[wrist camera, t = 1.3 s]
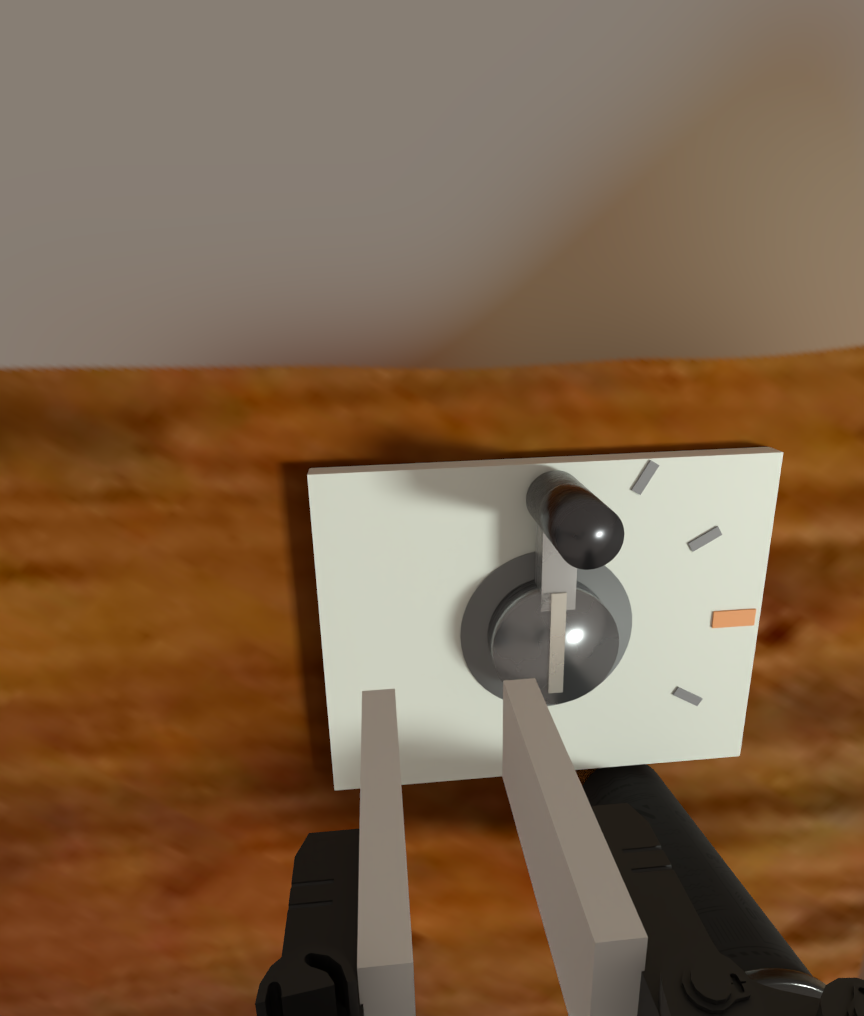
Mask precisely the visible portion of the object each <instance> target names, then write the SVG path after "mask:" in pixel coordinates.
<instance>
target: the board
mask: <svg viewBox="0 0 864 1016" xmlns="http://www.w3.org/2000/svg"><path fill="white" fill-rule="evenodd" d="M782 458H783V452H781V451H779V450H776V449H773V448H771V447H752V448H730V449H709V450H687V451H666V452H644V453H623V454H601V455H580V456H558V457H537V458H515V459H494V460H472V461H451V462H430V463H408V464H387V465H365V466H344V467H322V468H309V471H308V474H307V480H308V491H309V503H310V514H311V526H312V537H313V549H314V560H315V572H316V583H317V595H318V606H319V618H320V629H321V641H322V652H323V664H324V676H325V687H326V699H327V710H328V722H329V733H330V745H331V756H332V768H333V779H334V791H335V790H347V789H359V788H360V775H361V719H362V691H368V690H382V689H395V697H396V712H397V727H398V742H399V757H400V772H401V785H405V784H417V783H429V782H441V781H452V780H464V779H476V778H487V777H499V776H502V755H503V682H502V681H501V679H500V678H499V676H498V674H497V671H496V669H495V666H494V663H493V660H492V657H491V654H490V651H489V647H488V639H487V634H488V627H489V622H490V619H491V617H492V614H493V612H494V610H495V609H496V607H497V606H498V604H499V603H500V602H501V600H502V599H503V598H504V597H505V596H506V595H507V594H508V593H510V592H511V591H512V590H513V589H515V588H516V587H518V586H520V585H521V584H523V583H525V582H528V581H531V580H533V579H535V546H536V521H535V520H534V519H533V517H532V516H531V515H530V513H529V511H528V509H527V506H526V494H527V491H528V488H529V486H530V485H531V483H532V482H533V481H534V480H535V479H536V478H537V477H538V476H539V475H541V474H543V473H545V472H548V471H553V470H560V471H565V472H567V473H569V474H571V475H572V476H574V477H575V478H576V479H577V480H578V481H579V482H580V483H582V484H583V485H584V486H585V487H586V488H587V489H588V490H590V491H591V492H592V493H593V494H594V495H595V496H596V497H598V498H599V499H600V500H601V501H602V502H603V503H604V504H606V505H607V506H608V507H609V508H610V509H611V510H612V511H614V512H615V513H616V514H617V515H618V516H619V518H620V519H621V521H622V524H623V527H624V541H623V545H622V547H621V549H620V551H619V553H618V554H617V555H616V557H615V558H614V559H613V560H611V561H610V562H609V563H607V564H606V565H604V566H602V567H600V568H596V569H591V570H583V569H578V568H577V581H578V582H581V583H582V584H584V585H586V586H587V587H588V588H590V589H591V590H592V591H593V592H594V593H595V594H596V595H597V596H598V598H599V599H600V600H601V602H602V603H603V604H604V605H605V607H606V608H607V609H608V611H609V612H610V614H611V615H612V616H613V618H614V620H615V623H616V625H617V629H618V634H619V649H618V654H617V657H616V660H615V663H614V665H613V667H612V669H611V670H610V672H609V674H608V675H607V676H606V678H605V679H604V680H603V681H602V682H601V683H600V684H599V685H598V686H597V687H596V688H594V689H593V690H592V691H590V692H589V693H587V694H586V695H584V696H582V697H580V698H578V699H575V700H572V701H569V702H565V703H560V704H547V707H548V709H549V711H550V714H551V716H552V718H553V721H554V723H555V725H556V727H557V730H558V732H559V734H560V737H561V739H562V741H563V743H564V746H565V748H566V750H567V753H568V755H569V757H570V760H571V762H572V764H573V766H574V769H575V770H581V769H593V768H605V767H616V766H628V765H640V764H651V763H663V762H675V761H687V760H698V759H710V758H722V757H733V756H740V750H741V743H742V736H743V729H744V722H745V715H746V708H747V701H748V694H749V687H750V680H751V673H752V667H753V660H754V653H755V646H756V639H757V632H758V625H759V618H760V611H761V604H762V597H763V590H764V583H765V576H766V569H767V562H768V555H769V548H770V541H771V534H772V527H773V521H774V514H775V507H776V500H777V493H778V486H779V479H780V472H781V465H782Z"/></svg>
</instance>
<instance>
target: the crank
mask: <svg viewBox="0 0 864 1016" xmlns="http://www.w3.org/2000/svg"><path fill="white" fill-rule="evenodd" d="M526 506H527V509H528V511H529V513H530V515H531V516H532V517H533V519H534V520H535V521H536V546H535V579H533V580H531V581H528V582H525V583H523V584H521V585H520V586H518V587H516V588H515V589H513V590H512V591H511V592H510V593H508V594H507V595H506V596H505V597H504V598H503V599H502V600H501V602H500V603H499V604H498V606H497V607H496V609H495V610H494V612H493V614H492V617H491V619H490V622H489V627H488V634H487V639H488V647H489V651H490V654H491V657H492V660H493V663H494V666H495V669H496V671H497V674H498V676H499V678H500V679H501V681H502V682H503V681H504V680H517V679H531V678H535V679H536V682H537V684H538V686H539V688H540V691H541V693H542V695H543V698H544V700H545V702H546V704H560V703H565V702H569V701H572V700H575V699H578V698H580V697H582V696H584V695H586V694H587V693H589V692H590V691H592V690H593V689H594V688H596V687H597V686H598V685H599V684H600V683H601V682H602V681H603V680H604V679H605V678H606V676H607V675H608V674H609V672H610V670H611V669H612V667H613V665H614V663H615V660H616V657H617V654H618V649H619V634H618V629H617V625H616V623H615V620H614V618H613V616H612V615H611V614H610V612H609V611H608V609H607V608H606V607H605V605H604V604H603V603H602V602H601V600H600V599H599V598H598V596H597V595H596V594H595V593H594V592H593V591H592V590H591V589H590V588H588V587H587V586H586V585H584V584H582V583H581V582H578V581H577V568H578V569H583V570H591V569H596V568H600V567H602V566H604V565H606V564H607V563H609V562H610V561H611V560H613V559H614V558H615V557H616V555H617V554H618V553H619V551H620V549H621V547H622V545H623V541H624V527H623V524H622V521H621V519H620V518H619V516H618V515H617V514H616V513H615V512H614V511H612V510H611V509H610V508H609V507H608V506H607V505H606V504H604V503H603V502H602V501H601V500H600V499H599V498H598V497H596V496H595V495H594V494H593V493H592V492H591V491H590V490H588V489H587V488H586V487H585V486H584V485H583V484H582V483H580V482H579V481H578V480H577V479H576V478H575V477H574V476H572V475H571V474H569V473H567V472H565V471H560V470H553V471H548V472H545V473H543V474H541V475H539V476H538V477H537V478H536V479H535V480H534V481H533V482H532V483H531V485H530V486H529V488H528V491H527V494H526Z"/></svg>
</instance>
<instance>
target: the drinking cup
mask: <svg viewBox="0 0 864 1016" xmlns="http://www.w3.org/2000/svg"><path fill="white" fill-rule="evenodd" d="M583 789H584V792H585V794H586V796H587V799H588V801H589V803H590V805H591V806H598V805H609V804H620V803H628V804H629V805H630V806H632V807H633V808H634V809H635V810H636V811H637V812H638V813H639V814H640V815H641V816H643V817H644V818H645V819H646V820H647V821H648V822H649V824H650V826H651V827H652V829H653V831H654V833H655V835H656V837H657V839H658V841H659V842H660V844H661V848H662V850H664V852H665V854H666V856H667V857H668V859H669V861H670V863H671V866H672V870H674V871H675V872H676V874H677V876H678V878H679V880H680V882H681V884H682V886H683V887H684V889H685V891H686V893H687V895H688V897H689V899H690V901H691V902H692V904H693V906H694V908H695V910H696V912H697V914H698V916H699V918H700V919H701V921H702V923H703V925H704V927H705V929H706V931H707V933H708V934H709V936H710V938H711V940H712V942H713V943H714V945H715V946H716V948H717V949H718V951H719V952H720V954H722V955H724V956H726V957H728V958H730V959H731V960H732V961H733V962H735V963H736V964H737V965H738V966H739V967H740V968H741V969H742V970H743V971H744V972H746V974H747V975H748V977H749V978H750V979H752V980H754V981H756V982H758V983H760V984H762V985H765V986H769V987H772V988H775V989H779V990H783V991H788V992H792V993H797V994H801V995H806V996H811V997H815V998H821V995H822V993H823V991H824V988H825V986H826V985H825V984H824V983H823V982H821V981H820V980H818V979H817V978H815V977H813V976H812V975H811V973H810V972H809V971H808V970H807V968H806V967H805V966H804V964H803V963H802V962H801V960H800V959H799V958H798V957H797V955H796V954H795V953H794V951H793V950H792V949H791V947H790V946H789V945H788V944H787V942H786V941H785V940H784V938H783V937H782V936H781V934H780V933H779V932H778V931H777V929H776V928H775V927H774V925H773V924H772V923H771V921H770V920H769V919H768V918H767V916H766V915H765V914H764V912H763V911H762V910H761V908H760V907H759V906H758V905H757V903H756V902H755V901H754V899H753V898H752V897H751V895H750V894H749V893H748V892H747V890H746V889H745V888H744V886H743V885H742V884H741V882H740V881H739V880H738V879H737V877H736V876H735V875H734V873H733V872H732V871H731V869H730V868H729V867H728V866H727V864H726V863H725V862H724V860H723V859H722V858H721V856H720V855H719V854H718V853H717V851H716V850H715V849H714V847H713V846H712V845H711V843H710V842H709V841H708V840H707V838H706V837H705V836H704V834H703V833H702V832H701V830H700V829H699V828H698V827H697V825H696V824H695V823H694V821H693V820H692V819H691V817H690V816H689V815H688V814H687V812H686V811H685V810H684V808H683V807H682V806H681V804H680V803H679V802H678V801H677V799H676V798H675V797H674V795H673V794H672V793H671V791H670V790H669V789H668V788H667V786H666V785H665V784H664V782H663V781H662V780H661V778H660V777H659V776H658V775H657V773H656V772H655V771H654V770H653V769H652V768H651V767H649V766H648V765H646V764H640V765H628V766H616V767H605V768H599V769H597V770H596V771H595V772H593V773H592V774H591V775H590V776H589V777H588V779H587V780H586V781H585V783H584V785H583Z"/></svg>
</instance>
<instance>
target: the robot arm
mask: <svg viewBox="0 0 864 1016" xmlns="http://www.w3.org/2000/svg"><path fill="white" fill-rule="evenodd" d="M502 777H503V781H504V785H505V788H506V792H507V795H508V799H509V803H510V806H511V810H512V813H513V817H514V821H515V824H516V828H517V831H518V835H519V839H520V842H521V846H522V849H523V853H524V857H525V860H526V864H527V867H528V871H529V875H530V878H531V882H532V885H533V889H534V893H535V896H536V900H537V903H538V907H539V910H540V914H541V918H542V921H543V925H544V928H545V932H546V936H547V939H548V943H549V946H550V950H551V954H552V957H553V961H554V964H555V968H556V972H557V975H558V979H559V982H560V986H561V990H562V993H563V997H564V1000H565V1004H566V1008H567V1011H568V1015H569V1016H864V980H862V979H859V978H838V979H836V980H834V981H832V982H831V983H829V984H827V985H826V986H825V988H824V991H823V993H822V995H821V998H815V997H811V996H806V995H801V994H797V993H792V992H788V991H783V990H779V989H775V988H772V987H769V986H765V985H762V984H760V983H758V982H756V981H754V980H752V979H750V978H749V977H748V975H747V974H746V972H744V971H743V970H742V969H741V968H740V967H739V966H738V965H737V964H736V963H735V962H733V961H732V960H731V959H730V958H728V957H726V956H724V955H722V954H720V952H719V951H718V949H717V948H716V946H715V945H714V943H713V942H712V940H711V938H710V936H709V934H708V933H707V931H706V929H705V927H704V925H703V923H702V921H701V919H700V918H699V916H698V914H697V912H696V910H695V908H694V906H693V904H692V902H691V901H690V899H689V897H688V895H687V893H686V891H685V889H684V887H683V886H682V884H681V882H680V880H679V878H678V876H677V874H676V872H675V871H674V870H672V866H671V863H670V861H669V859H668V857H667V856H666V854H665V852H664V850H662V848H661V844H660V842H659V841H658V839H657V837H656V835H655V833H654V831H653V829H652V827H651V826H650V824H649V822H648V821H647V820H646V819H645V818H644V817H643V816H641V815H640V814H639V813H638V812H637V811H636V810H635V809H634V808H633V807H632V806H630V805H629V804H628V803H620V804H609V805H598V806H591V805H590V803H589V801H588V799H587V796H586V794H585V792H584V789H583V787H582V785H581V782H580V780H579V778H578V776H577V773H576V771H575V769H574V766H573V764H572V762H571V760H570V757H569V755H568V753H567V750H566V748H565V746H564V743H563V741H562V739H561V737H560V734H559V732H558V730H557V727H556V725H555V723H554V721H553V718H552V716H551V714H550V711H549V709H548V707H547V704H546V702H545V700H544V698H543V695H542V693H541V691H540V688H539V686H538V684H537V682H536V679H535V678H531V679H517V680H504V681H503V755H502ZM255 1005H256V1012H257V1016H416V1014H415V993H414V971H413V953H412V938H411V923H410V908H409V893H408V878H407V863H406V848H405V833H404V818H403V803H402V787H401V772H400V757H399V742H398V727H397V712H396V697H395V689H382V690H368V691H362V719H361V775H360V829H351V830H340V831H329V832H318V833H309V834H308V836H307V838H306V839H305V841H304V843H303V844H302V846H301V848H300V849H299V851H298V853H297V854H296V856H295V860H294V868H293V875H292V887H291V891H290V898H289V910H288V913H287V921H286V928H285V936H284V943H283V951H282V957H281V958H280V959H279V960H278V961H277V962H275V963H274V964H273V965H272V966H271V967H270V968H269V970H268V972H267V973H266V975H265V976H264V978H263V980H262V981H261V983H260V985H259V989H258V994H257V998H256V1003H255Z"/></svg>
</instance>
